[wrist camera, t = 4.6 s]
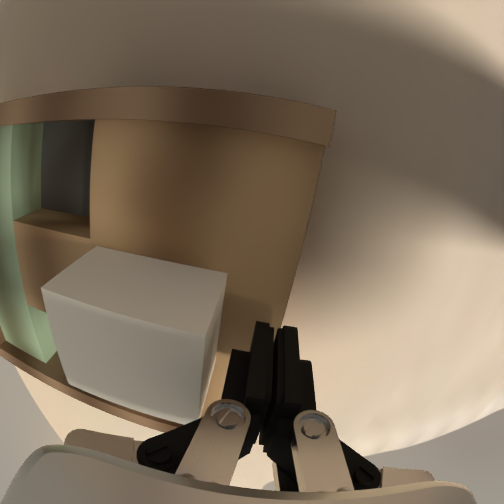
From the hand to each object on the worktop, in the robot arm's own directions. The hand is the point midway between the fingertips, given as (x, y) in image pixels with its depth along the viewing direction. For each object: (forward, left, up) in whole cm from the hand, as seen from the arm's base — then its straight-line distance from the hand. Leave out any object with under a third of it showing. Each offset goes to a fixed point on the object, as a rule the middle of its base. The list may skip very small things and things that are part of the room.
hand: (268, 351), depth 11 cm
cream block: (+5, 0, -1) cm, 5 cm away
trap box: (+10, 0, -4) cm, 10 cm away
